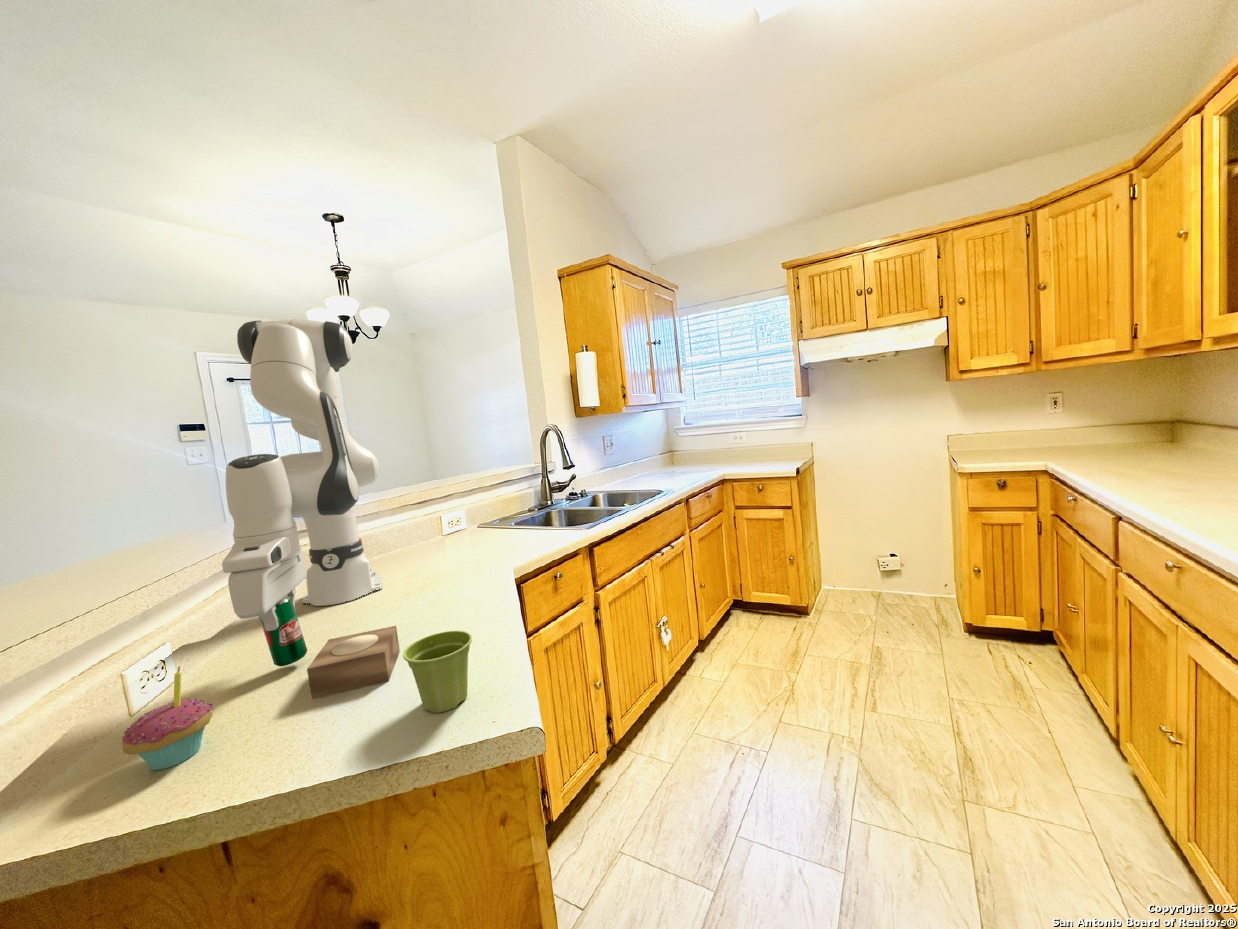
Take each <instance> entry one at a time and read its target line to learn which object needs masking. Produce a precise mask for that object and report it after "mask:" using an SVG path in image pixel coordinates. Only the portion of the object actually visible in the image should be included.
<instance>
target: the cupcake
mask: <svg viewBox="0 0 1238 929" xmlns="http://www.w3.org/2000/svg"><path fill="white" fill-rule="evenodd" d="M173 675H174V682H173V684H174V685H173V700H172V701H171V702H168V703H167V704H164V705H162V706H161V705H160V706H159V707H156V708H154V709H152V710H150V711H149V712H147V713H146V712H145V713H144V714H143V715H141V716H140V717H139V718H137V720H135V721H134V722H133V723H131V724H130V725H129V727H127V729H126V730H125V731H124V732H123V733H124V734H123V736H122V739H121V740H122V743H121V744H122V752H123V753H124V754H127V755H137V756H139V757H141V759H142V760H143V761H144V762H145V763H146V764H147V766H148V767H149V768H150V769H151V770H152V771H161V770H165V769H169V768H172V767H174V766H177V765H179V764H182V763H183V762H185V761H187V760H189V759H190V758H191V757H193V756H195V755H196V754H197V753H198V752H199V750H201V749H200V748H201V745H202V739H203V734H204V730H205V727H206V726H207V725H209V723H210V722H211V719H212V717H213V711H212V710H213V709H214V704H212V703H210V702H209V701H205V700H203V699H198V698H185V699H182V671H181V666H180V665H179V666H178V668H177V672H175V673H174V674H173Z"/></svg>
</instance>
